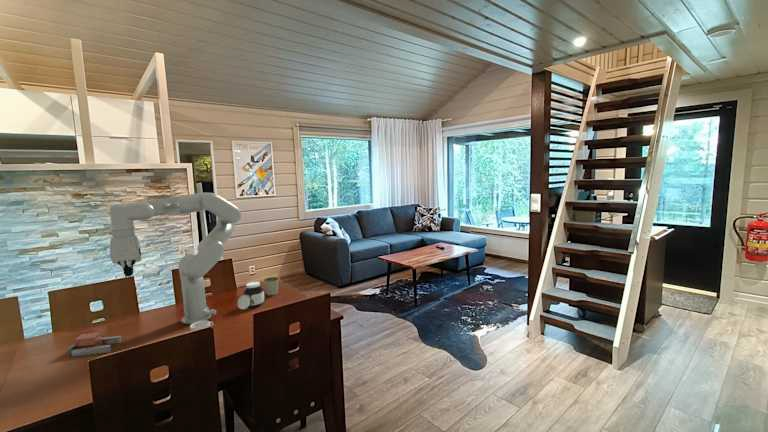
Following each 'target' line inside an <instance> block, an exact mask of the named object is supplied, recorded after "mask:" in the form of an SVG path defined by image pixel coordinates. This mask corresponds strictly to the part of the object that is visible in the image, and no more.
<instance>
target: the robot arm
mask: <svg viewBox="0 0 768 432" xmlns="http://www.w3.org/2000/svg"><path fill="white" fill-rule="evenodd" d="M203 211H208V212H210V213H211V214H213V215H215V216H216V218H217V220H216V221H217V222H216V224H215V226H214V228H213V229H212V230H211V231H210V232H209V233H208V234H207V235H206V236H205V237H204V238H203V239H202V240H201V241H200V242H199V243H198V245H197V247H196V248H197V253H196V254H186V255H184V256H182V257H181V258H180V259H179V261H178V265H177V266H178V268H177V269H178V273H179V278H180V283H181V285H180V286H181V294H182V303H183V312H184V316H183V317H182V318H181V319H180V320H181V321H180V322H181V323H182V324H183V325H184V324H185V325H191V324H193V323H195V322H199V321H209V319H210V318H211V317H212V315H216V314H217V310H216V309H215V308H212V309H210V308H209V306H207V300H206V299H207V297H206V289H205V279H204V276H205V275H206V274H207V273H209V271H210V270H211V269H212V268H214V266H215V265H216V264H217V263H218V262H219V261H220V260H221V259H222V257H223V256H224V254H225V250H226V249H225V244H226V242H227V241H228V240H229V239H230V238H231V236H233V233H234V230H235V223H238V222H239V221H240V220H241V218H242V211H241V210H240V208H238V206H236V205H235V204H233V203H231V202H230V201H229V200H227V199H225V198H223V197H221V196H220V195H218V194H216V193H214V192H198V193H192V194H191V193H190V194H183V195H177V196H171V197H165V198H157V199H151V200H143V201H137V202H135V203H133V204H129V203H121V204H120V203H119V204H113V205H110V206H109V213H110V214H109V215H110V223H111V230H110V231H108V235H109V236H110V235H111V236H112V237H111V238H110V240H109V241H110V242H109V256H110V257H109V258H110V261H111V262H112V264H114V265H115V264H116V265H119V267H121V268H122V271H123V275H124V277H125V278H126V277H131V276H133V275H134V265H135V264H136V263H139V262H141V261H142V260H143V258H142V249H141V248H142V247H141V244H140V241H139V238H138V235H136V233H135V232H136V231H135V225H134V224H135V223H134V221H147V220H150V219H151V218H153V217H158V216H165V215H166V216H167V215H172V216H173V215H174V216H176V215H185V214H191V213H197V212H198V213H199V212H203Z"/></svg>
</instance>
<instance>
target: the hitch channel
mask: <svg viewBox="0 0 768 432" xmlns="http://www.w3.org/2000/svg"><path fill="white" fill-rule="evenodd" d="M102 341H103V346H97V347H88V348H80V349H75V343H73V344H71V346H69V347H68V348H67V355H68V358H75V357H82V356H89V355H90V354H91V355H98V354H97V353H99V354H104V353H105V354H106V353H111V352H112V345H111V344H121V343H122V336H121V335H117V336H109V337H108V336H107V337H102Z"/></svg>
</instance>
